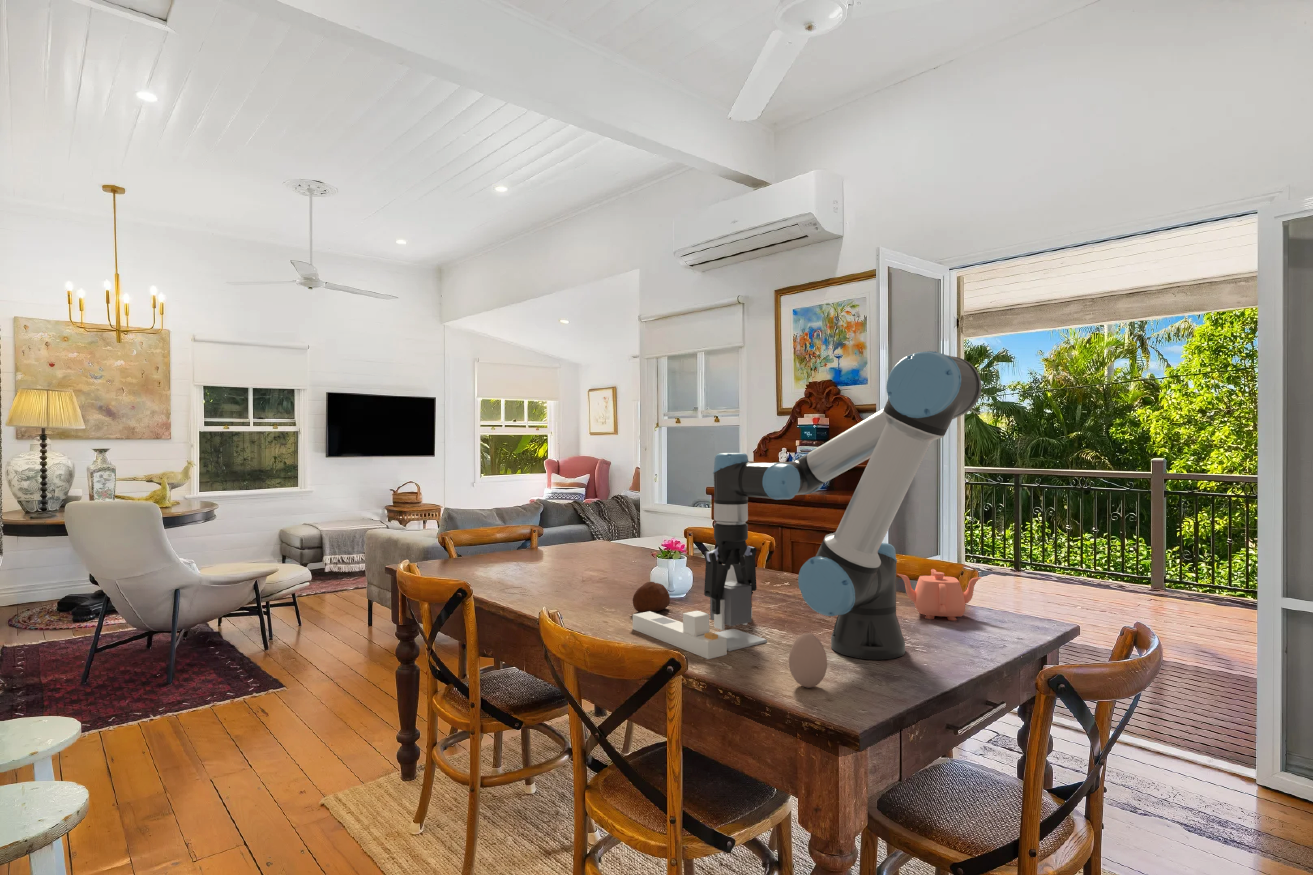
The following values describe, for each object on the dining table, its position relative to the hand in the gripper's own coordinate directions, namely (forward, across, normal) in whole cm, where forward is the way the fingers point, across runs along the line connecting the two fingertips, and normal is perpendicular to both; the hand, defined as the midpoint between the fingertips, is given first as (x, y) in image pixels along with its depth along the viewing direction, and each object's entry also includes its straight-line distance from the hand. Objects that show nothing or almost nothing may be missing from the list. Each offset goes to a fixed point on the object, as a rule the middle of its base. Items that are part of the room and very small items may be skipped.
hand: (730, 625), depth 158 cm
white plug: (0, +10, 0) cm, 10 cm away
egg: (+3, +8, +30) cm, 31 cm away
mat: (+3, 0, 0) cm, 3 cm away
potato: (+4, -1, -32) cm, 32 cm away
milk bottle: (+4, -14, -14) cm, 20 cm away
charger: (-1, 0, 0) cm, 1 cm away
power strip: (+3, +10, -7) cm, 13 cm away
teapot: (+3, -57, +14) cm, 59 cm away
